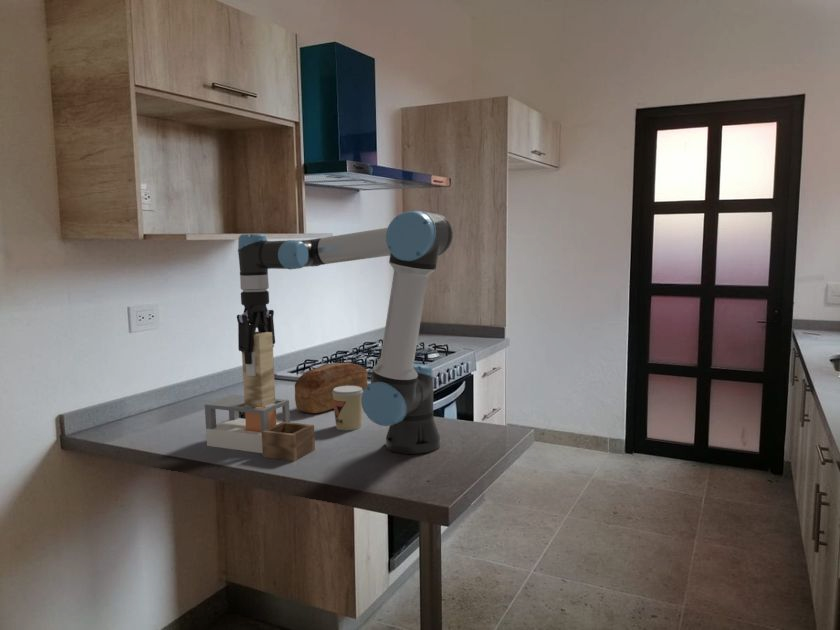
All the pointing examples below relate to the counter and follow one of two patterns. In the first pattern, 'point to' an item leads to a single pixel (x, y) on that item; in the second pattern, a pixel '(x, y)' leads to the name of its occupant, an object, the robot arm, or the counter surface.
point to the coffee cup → (348, 407)
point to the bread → (326, 385)
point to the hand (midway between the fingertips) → (258, 372)
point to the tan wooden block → (260, 373)
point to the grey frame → (238, 424)
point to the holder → (288, 441)
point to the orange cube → (259, 420)
